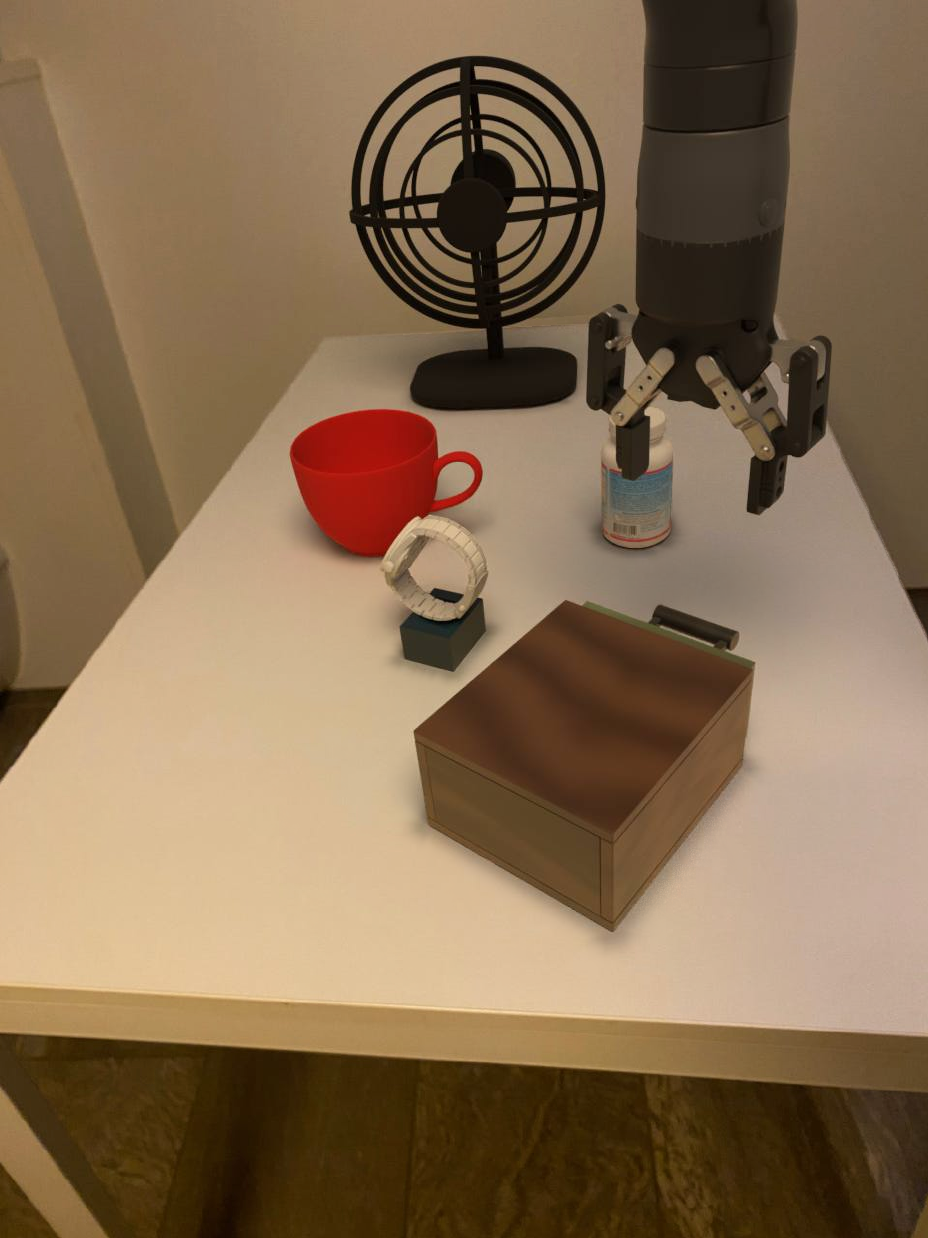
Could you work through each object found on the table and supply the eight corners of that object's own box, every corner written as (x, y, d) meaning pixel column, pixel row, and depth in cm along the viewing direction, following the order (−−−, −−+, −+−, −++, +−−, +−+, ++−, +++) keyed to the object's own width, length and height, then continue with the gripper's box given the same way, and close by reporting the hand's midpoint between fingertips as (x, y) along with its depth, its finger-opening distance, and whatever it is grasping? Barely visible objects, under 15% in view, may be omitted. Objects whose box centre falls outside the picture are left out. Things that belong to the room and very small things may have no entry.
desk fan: (369, 422, 111) (314, 77, 90) (394, 363, 125) (351, 53, 104) (606, 413, 107) (605, 51, 86) (605, 354, 121) (604, 30, 100)
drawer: (622, 637, 73) (623, 568, 69) (778, 697, 66) (788, 623, 62) (462, 792, 61) (452, 718, 58) (630, 883, 54) (631, 806, 51)
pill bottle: (684, 533, 85) (691, 416, 79) (633, 558, 83) (635, 439, 76) (638, 508, 90) (640, 395, 83) (587, 531, 87) (585, 416, 81)
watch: (417, 614, 79) (400, 496, 73) (505, 635, 76) (495, 513, 69) (382, 653, 75) (360, 533, 69) (473, 677, 72) (460, 553, 65)
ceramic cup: (473, 582, 82) (462, 478, 76) (289, 572, 86) (265, 472, 80) (501, 506, 92) (494, 409, 86) (335, 501, 96) (318, 407, 90)
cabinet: (568, 690, 70) (565, 599, 65) (742, 765, 62) (753, 668, 57) (428, 825, 61) (412, 730, 56) (612, 932, 53) (613, 833, 48)
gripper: (875, 208, 48) (832, 494, 58) (630, 188, 56) (628, 442, 66) (811, 249, 44) (776, 551, 53) (555, 221, 52) (564, 488, 61)
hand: (694, 491), depth 59 cm, fingers open, 8 cm apart
